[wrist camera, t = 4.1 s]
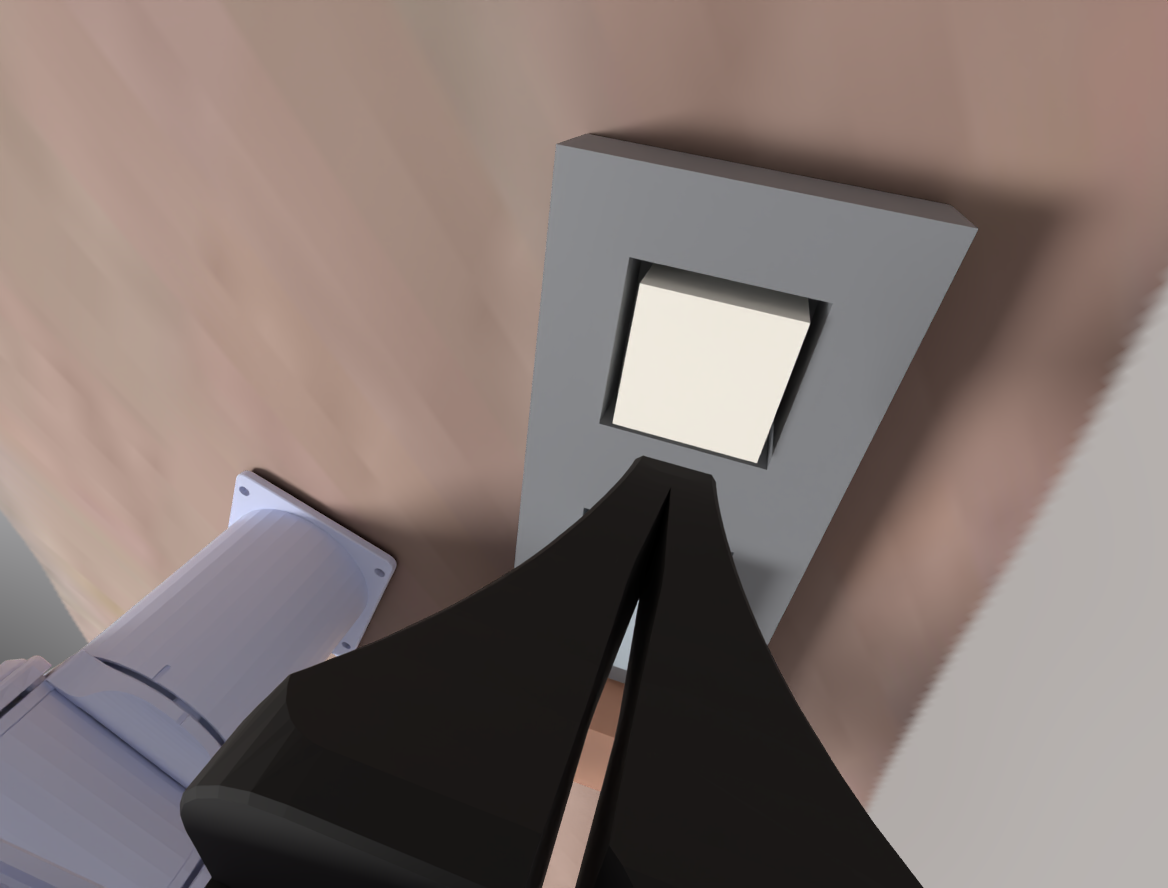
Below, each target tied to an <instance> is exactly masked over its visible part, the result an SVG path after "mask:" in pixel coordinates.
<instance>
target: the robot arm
mask: <svg viewBox="0 0 1168 888" xmlns="http://www.w3.org/2000/svg"><path fill="white" fill-rule="evenodd" d="M396 565H397V564H396V561H395V559H394V558H393V557H392V556H390V555H389V554H387V553H386V552H384V551H382V550H381V549H379V548H377V547H376V546H374V545H372V544H371V543H369V542H367V541H366V540H364V539H363V538H361V537H359V536H358V535H356V534H354V533H353V532H351V531H349V530H348V529H346V528H344V527H343V526H341V525H339V524H338V523H336V522H334V521H333V520H331V519H329V518H328V517H326V516H324V515H323V514H321V513H319V512H318V511H316V510H315V509H313V508H311V507H310V506H308V505H306V504H305V503H303V502H301V501H300V500H298V499H296V498H295V497H293V496H291V495H290V494H288V493H286V492H285V491H283V490H281V489H280V488H278V487H276V486H275V485H273V484H272V483H270V482H268V481H267V480H265V479H263V478H262V477H260V476H258V475H257V474H255V473H253V472H251V471H246V470H245V471H243V472H242V473H240V474H239V475H238V476H237V478H236V484H235V490H234V496H233V502H232V508H231V514H230V520H229V526H228V528H227V529H226V530H225V531H224V532H223V533H221V534H220V535H219V536H218V537H217V538H215V539H214V540H213V541H212V542H211V543H209V544H208V545H207V546H206V547H204V548H203V549H202V550H201V551H200V552H198V553H197V554H196V555H195V556H194V557H192V558H191V559H190V560H189V561H188V562H186V563H185V564H184V565H183V566H181V567H180V568H179V569H178V570H177V571H175V572H174V573H173V574H172V575H171V576H169V577H168V578H167V579H166V580H165V581H163V582H162V583H161V584H160V585H158V586H157V587H156V588H155V589H154V590H152V591H151V592H150V593H149V594H148V595H146V596H145V597H144V598H143V599H142V600H140V601H139V602H138V603H137V604H136V605H134V606H133V607H132V608H131V609H129V610H128V611H127V612H126V613H125V614H123V615H122V616H121V617H120V618H119V619H117V620H116V621H115V622H114V623H113V624H111V625H110V626H109V627H108V628H106V629H105V630H104V631H103V632H102V633H100V634H99V635H98V636H97V637H96V638H94V639H93V640H92V641H91V642H90V643H88V644H87V645H86V646H85V647H84V648H82V649H81V650H80V651H78V652H77V653H75V654H74V655H72V656H71V657H70V658H68V659H66V660H65V661H63V662H62V663H60V664H59V665H57V666H56V667H54V668H53V669H51V670H50V671H48V672H46V673H45V674H44V675H42V674H43V673H44V672H45V671H46V670H48V669H49V668H50V667H51V666H52V665H51V664H50V663H48V662H47V661H46V660H45V659H44V658H43V657H41V656H33V657H31V658H29V659H28V660H26V659H14V660H6V661H5V662H3V663H2V664H1V665H0V888H542V886H543V882H544V879H545V875H546V872H547V869H548V865H549V862H550V858H551V855H552V851H553V848H554V845H555V841H556V838H557V834H558V831H559V828H560V824H561V821H562V817H563V814H564V811H565V807H566V804H567V800H568V797H569V794H570V790H571V787H572V783H573V780H574V777H575V773H576V770H577V766H578V763H579V760H580V756H581V753H582V749H583V746H584V743H585V739H586V736H587V733H588V729H589V727H590V724H591V721H592V718H593V715H594V712H595V709H596V707H597V704H598V701H599V699H600V696H601V694H602V691H603V689H604V686H605V684H606V681H607V679H608V676H609V674H610V671H611V669H612V666H613V664H614V661H615V658H616V656H617V653H618V651H619V648H620V646H621V643H622V641H623V638H624V636H625V633H626V631H627V628H628V626H629V623H630V620H631V618H632V615H633V613H634V610H635V608H636V605H637V603H638V608H637V614H636V620H635V626H634V631H633V637H632V643H631V649H630V655H629V661H628V667H627V673H626V679H625V685H624V691H623V697H622V702H621V708H620V714H619V719H618V724H617V729H616V733H615V738H614V742H613V746H612V750H611V754H610V758H609V762H608V765H607V769H606V773H605V777H604V781H603V784H602V788H601V792H600V796H599V800H598V803H597V807H596V811H595V815H594V819H593V822H592V826H591V830H590V834H589V838H588V841H587V845H586V849H585V853H584V856H583V860H582V864H581V868H580V872H579V875H578V879H577V883H576V887H575V888H923V887H922V885H921V884H920V883H919V881H918V880H917V879H916V877H915V876H914V875H913V874H912V872H911V871H910V870H909V868H908V867H907V866H906V864H905V863H904V862H903V860H902V859H901V858H900V857H899V855H898V854H897V853H896V851H895V850H894V849H893V847H892V846H891V845H890V844H889V842H888V841H887V840H886V838H885V837H884V836H883V834H882V833H881V832H880V831H879V829H878V828H877V827H876V825H875V824H874V822H873V821H872V820H871V818H870V817H869V815H868V814H867V812H866V811H865V809H864V808H863V807H862V805H861V804H860V802H859V801H858V799H857V798H856V796H855V795H854V793H853V792H852V790H851V789H850V788H849V786H848V785H847V783H846V782H845V780H844V779H843V777H842V776H841V774H840V773H839V771H838V769H837V768H836V766H835V765H834V763H833V761H832V760H831V758H830V756H829V755H828V753H827V752H826V750H825V748H824V747H823V745H822V743H821V742H820V740H819V738H818V737H817V735H816V734H815V732H814V730H813V729H812V727H811V725H810V724H809V722H808V721H807V719H806V717H805V716H804V714H803V712H802V711H801V709H800V707H799V706H798V704H797V702H796V700H795V698H794V697H793V695H792V693H791V691H790V689H789V687H788V685H787V684H786V682H785V680H784V678H783V676H782V674H781V672H780V670H779V669H778V667H777V664H776V662H775V660H774V658H773V656H772V654H771V652H770V650H769V648H768V646H767V644H766V642H765V640H764V638H763V635H762V633H761V631H760V629H759V626H758V624H757V622H756V619H755V617H754V615H753V612H752V610H751V607H750V605H749V602H748V599H747V597H746V594H745V592H744V589H743V587H742V584H741V581H740V578H739V575H738V572H737V569H736V566H735V563H734V560H733V557H732V553H731V550H730V547H729V544H728V540H727V537H726V533H725V529H724V525H723V521H722V517H721V512H720V507H719V502H718V496H717V488H716V481H715V479H714V478H713V476H712V475H711V474H707V473H704V472H700V471H697V470H693V469H689V468H686V467H682V466H679V465H675V464H672V463H668V462H664V461H661V460H657V459H654V458H650V457H647V456H641V457H639V458H636V459H635V460H634V462H633V463H632V465H631V466H630V468H629V469H628V470H627V471H626V473H625V474H624V475H623V476H622V477H621V478H620V480H619V481H618V482H617V483H616V484H615V485H614V486H613V487H612V488H611V489H610V490H609V491H608V492H607V493H606V494H605V495H604V496H603V497H602V498H601V499H600V500H599V501H598V502H597V503H596V504H595V505H594V506H593V507H592V508H591V509H590V510H589V511H587V512H586V513H585V514H584V515H583V516H582V517H581V518H580V519H579V520H578V521H576V522H575V523H574V524H573V525H571V526H570V527H569V528H568V529H567V530H565V531H564V532H563V533H562V534H560V535H559V536H558V537H557V538H556V539H554V540H553V541H552V542H551V543H549V544H548V545H547V546H545V547H544V548H543V549H541V550H540V551H539V552H537V553H536V554H535V555H533V556H532V557H530V558H529V559H528V560H526V561H525V562H523V563H522V564H520V565H519V566H517V567H516V568H514V569H513V570H511V571H510V572H508V573H507V574H505V575H504V576H502V577H500V578H499V579H497V580H495V581H494V582H492V583H490V584H489V585H487V586H485V587H483V588H482V589H480V590H478V591H477V592H475V593H473V594H472V595H470V596H468V597H466V598H465V599H463V600H461V601H459V602H457V603H455V604H454V605H452V606H450V607H448V608H446V609H444V610H442V611H440V612H438V613H436V614H434V615H431V616H429V617H427V618H425V619H423V620H421V621H419V622H417V623H415V624H413V625H410V626H408V627H406V628H404V629H402V630H400V631H398V632H396V633H394V634H391V635H389V636H387V637H385V638H382V639H380V640H378V641H375V642H373V643H371V644H368V645H366V646H363V647H360V648H358V649H357V647H358V645H359V643H360V641H361V639H362V637H363V635H364V633H365V631H366V628H367V626H368V624H369V622H370V620H371V618H372V616H373V614H374V612H375V610H376V608H377V606H378V604H379V602H380V600H381V598H382V595H383V593H384V591H385V589H386V587H387V585H388V583H389V581H390V579H391V577H392V575H393V573H394V571H395V569H396ZM638 600H639V602H638ZM331 653H332V654H334V655H336V656H337V657H334V658H332V659H329V660H327V661H325V660H326V659H327V658H328V657H329V655H330V654H331Z"/></svg>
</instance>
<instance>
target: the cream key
mask: <svg viewBox="0 0 1168 888" xmlns="http://www.w3.org/2000/svg"><path fill="white" fill-rule="evenodd" d="M809 325H810V314H809V302H808V298H807V297H802V296H798V295H793V294H789V293H785V292H780V291H776V290H772V289H767V288H763V287H758V286H754V285H750V284H745V283H741V282H736V281H732V280H728V279H723V278H719V277H714V276H710V275H706V274H701V273H697V272H692V271H688V270H684V269H679V268H675V267H671V266H666V265H662V264H657V263H653V265H652V266H651V268H650V269H649V271H648V272H647V274H646V275H645V277H644V278H643V279H642V281H641V282H640V285H639V290H638V296H637V301H636V306H635V311H634V316H633V321H632V326H631V331H630V336H629V341H628V346H627V352H626V357H625V362H624V367H623V372H622V377H621V382H620V387H619V392H618V397H617V402H616V408H615V413H614V418H613V424H616V425H620V426H623V427H627V428H631V429H634V430H638V431H642V432H645V433H649V434H653V435H656V436H660V437H663V438H667V439H671V440H674V441H678V442H682V443H685V444H689V445H693V446H696V447H700V448H703V449H707V450H711V451H714V452H718V453H722V454H725V455H729V456H733V457H736V458H740V459H743V460H747V461H751V462H754V463H757V462H758V459H759V456H760V454H761V451H762V448H763V446H764V443H765V441H766V438H767V435H768V433H769V430H770V428H771V425H772V422H773V420H774V417H775V414H776V412H777V409H778V407H779V404H780V401H781V399H782V396H783V393H784V391H785V388H786V386H787V383H788V380H789V378H790V375H791V372H792V370H793V367H794V365H795V362H796V359H797V357H798V354H799V351H800V349H801V346H802V344H803V341H804V338H805V336H806V333H807V331H808V328H809Z"/></svg>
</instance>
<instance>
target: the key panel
mask: <svg viewBox="0 0 1168 888" xmlns="http://www.w3.org/2000/svg"><path fill="white" fill-rule="evenodd" d="M977 231H978V228H977V227H976V226H975V225H974V224H972V223H971V222H970V221H969V220H968V219H967V218H965V217H964V216H963V215H962V214H961V213H960V212H958V211H957V210H956V209H955V208H954V207H953V206H951V205H949V204H944V203H938V202H933V201H928V200H923V199H918V198H913V197H908V196H903V195H898V194H893V193H887V192H882V191H877V190H872V189H867V188H862V187H857V186H852V185H847V184H842V183H836V182H831V181H826V180H821V179H816V178H811V177H806V176H801V175H796V174H791V173H785V172H780V171H775V170H770V169H765V168H760V167H755V166H750V165H745V164H740V163H734V162H729V161H724V160H719V159H714V158H709V157H704V156H699V155H694V154H688V153H683V152H678V151H673V150H668V149H663V148H658V147H653V146H648V145H643V144H637V143H632V142H627V141H622V140H617V139H612V138H607V137H602V136H597V135H592V134H584V135H581V136H578V137H575V138H572V139H570V140H567V141H564V142H561V143H558V144H556V151H555V161H554V171H553V182H552V192H551V202H550V212H549V222H548V232H547V242H546V252H545V262H544V272H543V282H542V292H541V302H540V313H539V323H538V333H537V343H536V353H535V363H534V373H533V383H532V393H531V403H530V413H529V423H528V434H527V444H526V454H525V464H524V474H523V484H522V494H521V504H520V514H519V524H518V534H517V544H516V554H515V565H514V568H516V567H517V566H519V565H520V564H522V563H523V562H525V561H526V560H528V559H529V558H530V557H532V556H533V555H535V554H536V553H537V552H539V551H540V550H541V549H543V548H544V547H545V546H547V545H548V544H549V543H551V542H552V541H553V540H554V539H556V538H557V537H558V536H559V535H560V534H562V533H563V532H564V531H565V530H567V529H568V528H569V527H570V526H571V525H573V524H574V523H575V522H576V521H578V520H579V519H580V518H581V517H582V516H583V515H584V514H585V513H586V512H587V511H589V510H590V509H591V508H592V507H593V506H594V505H595V504H596V503H597V502H598V501H599V500H600V499H601V498H602V497H603V496H604V495H605V494H606V493H607V492H608V491H609V490H610V489H611V488H612V487H613V486H614V485H615V484H616V483H617V482H618V481H619V480H620V478H621V477H622V476H623V475H624V474H625V473H626V471H627V470H628V469H629V468H630V466H631V465H632V463H633V462H634V460H635V459H636V458H639V457H641V456H647V457H650V458H654V459H657V460H661V461H664V462H668V463H672V464H675V465H679V466H682V467H686V468H689V469H693V470H697V471H700V472H704V473H707V474H711V475H712V476H713V478H714V479H715V481H716V488H717V496H718V502H719V507H720V512H721V517H722V521H723V525H724V529H725V533H726V537H727V540H728V544H729V547H730V550H731V553H732V557H733V560H734V563H735V566H736V569H737V572H738V575H739V578H740V581H741V584H742V587H743V589H744V592H745V594H746V597H747V599H748V602H749V605H750V607H751V610H752V612H753V615H754V617H755V619H756V622H757V624H758V626H759V629H760V631H761V633H762V635H763V638H764V640H765V642H766V644H767V645H768V643H769V641H770V639H771V637H772V636H773V634H774V632H775V630H776V628H777V626H778V624H779V622H780V620H781V618H782V616H783V614H784V612H785V610H786V608H787V606H788V604H789V602H790V600H791V598H792V596H793V594H794V592H795V590H796V588H797V586H798V584H799V582H800V580H801V578H802V576H803V574H804V572H805V570H806V568H807V566H808V564H809V562H810V560H811V559H812V557H813V555H814V553H815V551H816V549H817V547H818V545H819V543H820V541H821V539H822V537H823V535H824V533H825V531H826V529H827V527H828V525H829V523H830V521H831V519H832V517H833V515H834V513H835V511H836V509H837V507H838V505H839V503H840V501H841V499H842V497H843V495H844V493H845V491H846V489H847V487H848V485H849V483H850V482H851V480H852V478H853V476H854V474H855V472H856V470H857V468H858V466H859V464H860V462H861V460H862V458H863V456H864V454H865V452H866V450H867V448H868V446H869V444H870V442H871V440H872V438H873V436H874V434H875V432H876V430H877V428H878V426H879V424H880V422H881V420H882V418H883V416H884V414H885V412H886V410H887V408H888V406H889V405H890V403H891V401H892V399H893V397H894V395H895V393H896V391H897V389H898V387H899V385H900V383H901V381H902V379H903V377H904V375H905V373H906V371H907V369H908V367H909V365H910V363H911V361H912V359H913V357H914V355H915V353H916V351H917V349H918V347H919V345H920V343H921V341H922V339H923V337H924V335H925V333H926V331H927V329H928V328H929V326H930V324H931V322H932V320H933V318H934V316H935V314H936V312H937V310H938V308H939V306H940V304H941V302H942V300H943V298H944V296H945V294H946V292H947V290H948V288H949V286H950V284H951V282H952V280H953V278H954V276H955V274H956V272H957V270H958V268H959V266H960V264H961V262H962V260H963V258H964V256H965V254H966V252H967V251H968V249H969V247H970V245H971V243H972V241H973V239H974V237H975V235H976V233H977ZM653 263H657V264H662V265H666V266H671V267H675V268H679V269H684V270H688V271H692V272H697V273H701V274H706V275H710V276H714V277H719V278H723V279H728V280H732V281H736V282H741V283H745V284H750V285H754V286H758V287H763V288H767V289H772V290H776V291H780V292H785V293H789V294H793V295H798V296H802V297H807V298H808V302H809V314H810V325H809V328H808V331H807V333H806V336H805V338H804V341H803V344H802V346H801V349H800V351H799V354H798V357H797V359H796V362H795V365H794V367H793V370H792V372H791V375H790V378H789V380H788V383H787V386H786V388H785V391H784V393H783V396H782V399H781V401H780V404H779V407H778V409H777V412H776V414H775V417H774V420H773V422H772V425H771V428H770V430H769V433H768V435H767V438H766V441H765V443H764V446H763V448H762V451H761V454H760V456H759V459H758V462H757V463H754V462H751V461H747V460H743V459H740V458H736V457H733V456H729V455H725V454H722V453H718V452H714V451H711V450H707V449H703V448H700V447H696V446H693V445H689V444H685V443H682V442H678V441H674V440H671V439H667V438H663V437H660V436H656V435H653V434H649V433H645V432H642V431H638V430H634V429H631V428H627V427H623V426H620V425H616V424H613V418H614V413H615V408H616V402H617V397H618V392H619V387H620V382H621V377H622V372H623V367H624V362H625V357H626V352H627V346H628V341H629V336H630V331H631V326H632V321H633V316H634V311H635V306H636V301H637V296H638V290H639V285H640V282H641V281H642V279H643V278H644V277H645V275H646V274H647V272H648V271H649V269H650V268H651V266H652V265H653ZM626 673H627V670H624V669H621V668H619V667H616V666H612V669H611V671H610V674H609V676H608V678H610V679H612V680H615V681H618V682H621V683H624V684H625V679H626Z"/></svg>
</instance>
